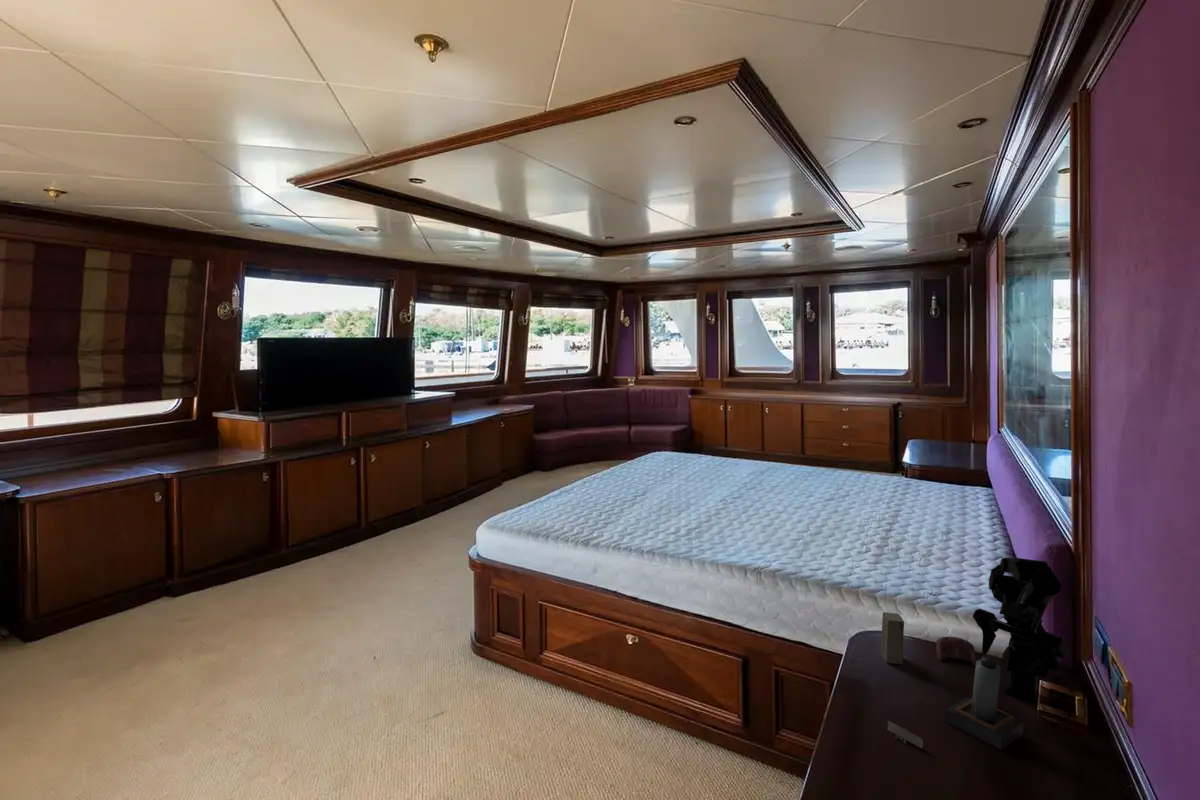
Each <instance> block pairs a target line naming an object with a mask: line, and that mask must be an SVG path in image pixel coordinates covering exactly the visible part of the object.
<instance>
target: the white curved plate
mask: <svg viewBox="0 0 1200 800" xmlns="http://www.w3.org/2000/svg"><path fill="white" fill-rule="evenodd" d="M887 730H888V731H889V730H890V731H889V732H892V733H893V734H895V735H894V737H895V739H899V741H900V742H903V744H905V745H907V741H908V742H909V743H911V744H913V745H914V746H916V747H918V748H920V749H923V747H924V746H923V745H924V742H923V738H921V737H919V736H917V735H916V734H913V733H912V732H910V731H908V730H907V729H904V728H902V727H900V726H899V725H897V724H895V723H893V722H892V721H890V720H888V719H887Z"/></svg>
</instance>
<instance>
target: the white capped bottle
mask: <svg viewBox="0 0 1200 800" xmlns="http://www.w3.org/2000/svg"><path fill="white" fill-rule="evenodd" d="M980 657H981V658H980V659H977V661H976V666H974V667H975V671H974V676H973V677H974V679H973V690H972V697H971V698H972V705H971V713H972V715H974V716H975V717H977V718H979V719H981V720H984V721H994V720H995V717H996V708H997V705H998V697H999V691H1000V689H999V688H1000V680H1001V671H1002V668H1001V667H1000V666H999V664H998V661H997V659H996V658H994V657H992V656H988V655H982V656H980ZM997 709H998V708H997Z"/></svg>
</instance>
